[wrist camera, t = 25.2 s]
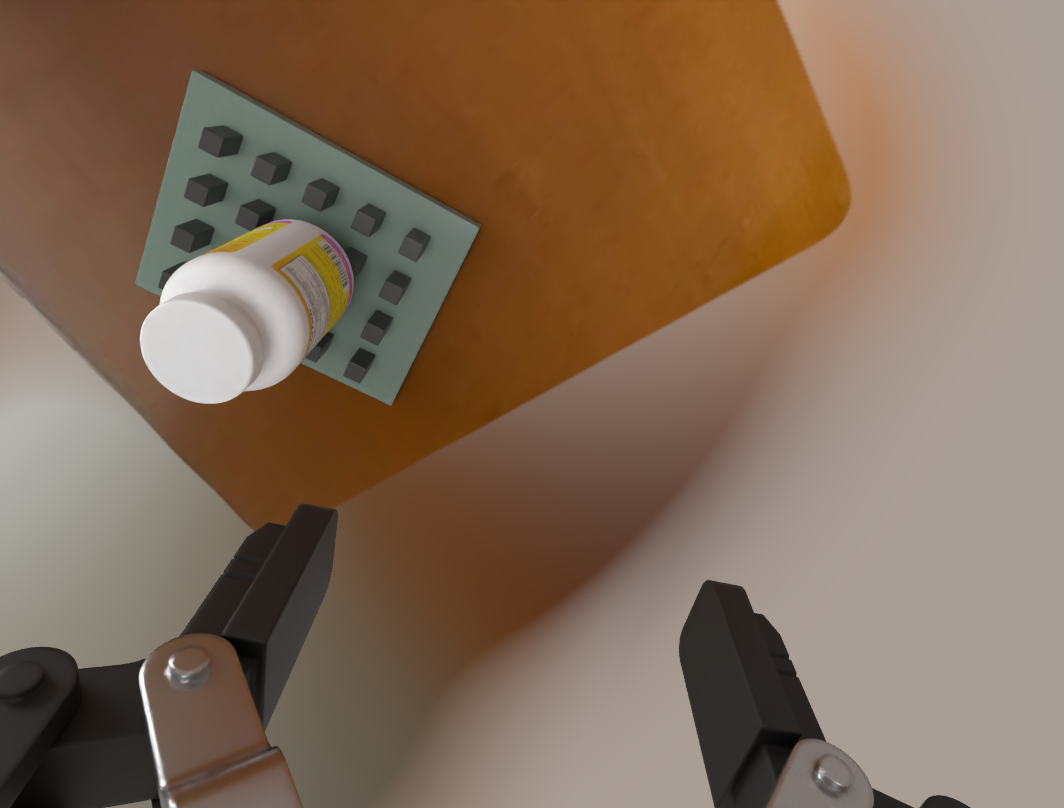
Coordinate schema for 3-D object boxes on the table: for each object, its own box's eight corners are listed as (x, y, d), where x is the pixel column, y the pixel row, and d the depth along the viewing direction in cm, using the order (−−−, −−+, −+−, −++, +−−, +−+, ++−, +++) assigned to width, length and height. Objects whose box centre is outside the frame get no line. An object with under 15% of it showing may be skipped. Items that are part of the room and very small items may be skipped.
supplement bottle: (232, 297, 38) (97, 384, 27) (263, 196, 36) (128, 244, 24) (337, 344, 40) (250, 447, 28) (374, 250, 37) (295, 321, 25)
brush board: (481, 224, 40) (475, 236, 36) (394, 398, 45) (382, 423, 42) (202, 70, 36) (167, 67, 33) (145, 279, 42) (110, 295, 39)
